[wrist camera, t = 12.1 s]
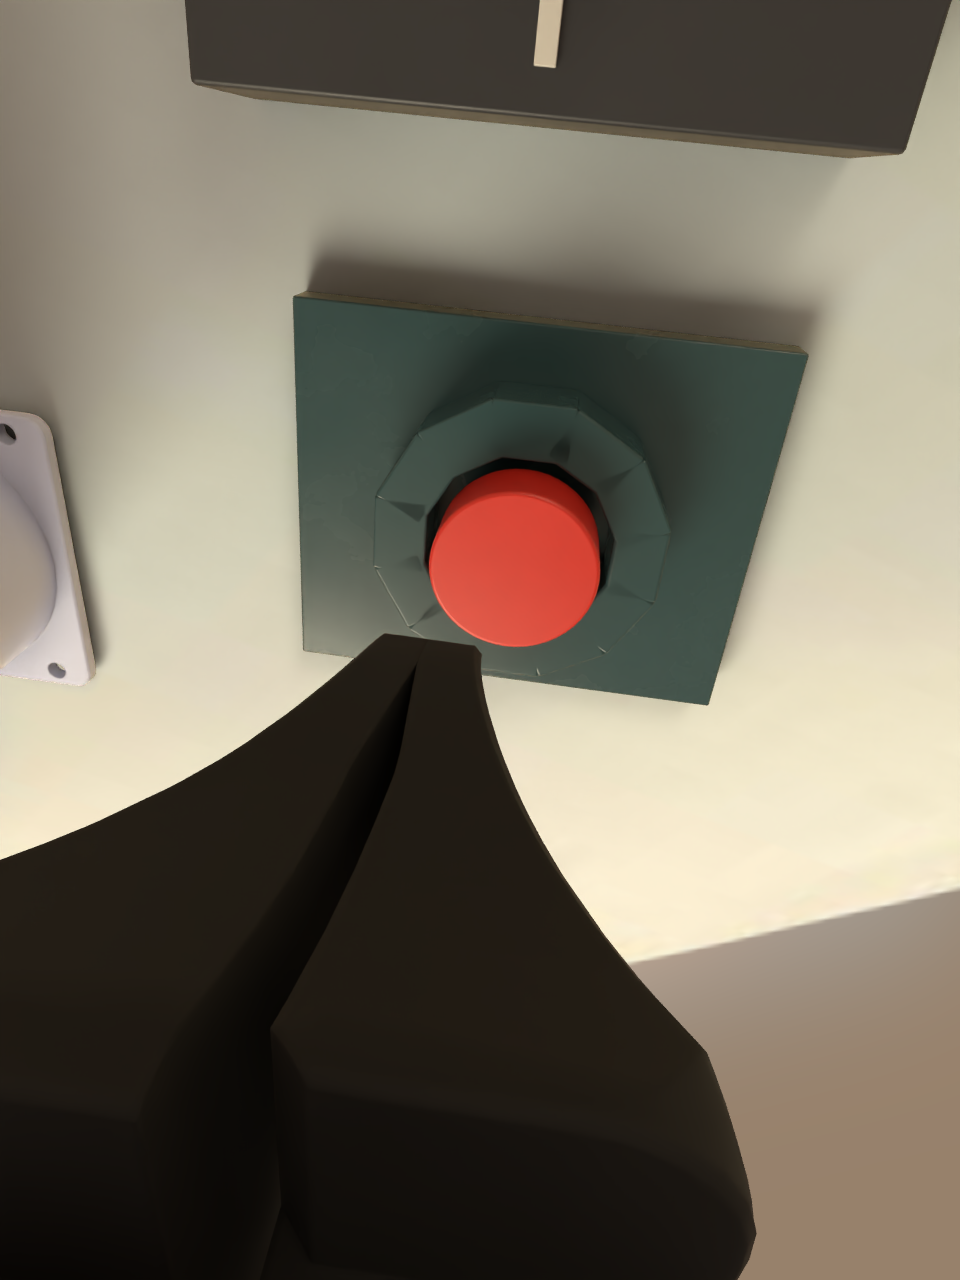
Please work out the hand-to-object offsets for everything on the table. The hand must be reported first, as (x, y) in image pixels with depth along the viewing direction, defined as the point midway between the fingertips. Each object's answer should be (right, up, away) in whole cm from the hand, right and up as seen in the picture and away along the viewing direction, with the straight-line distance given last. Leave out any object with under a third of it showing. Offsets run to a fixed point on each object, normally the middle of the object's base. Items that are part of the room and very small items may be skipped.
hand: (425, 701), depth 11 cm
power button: (+2, +3, +7) cm, 8 cm away
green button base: (+2, +4, +9) cm, 10 cm away
